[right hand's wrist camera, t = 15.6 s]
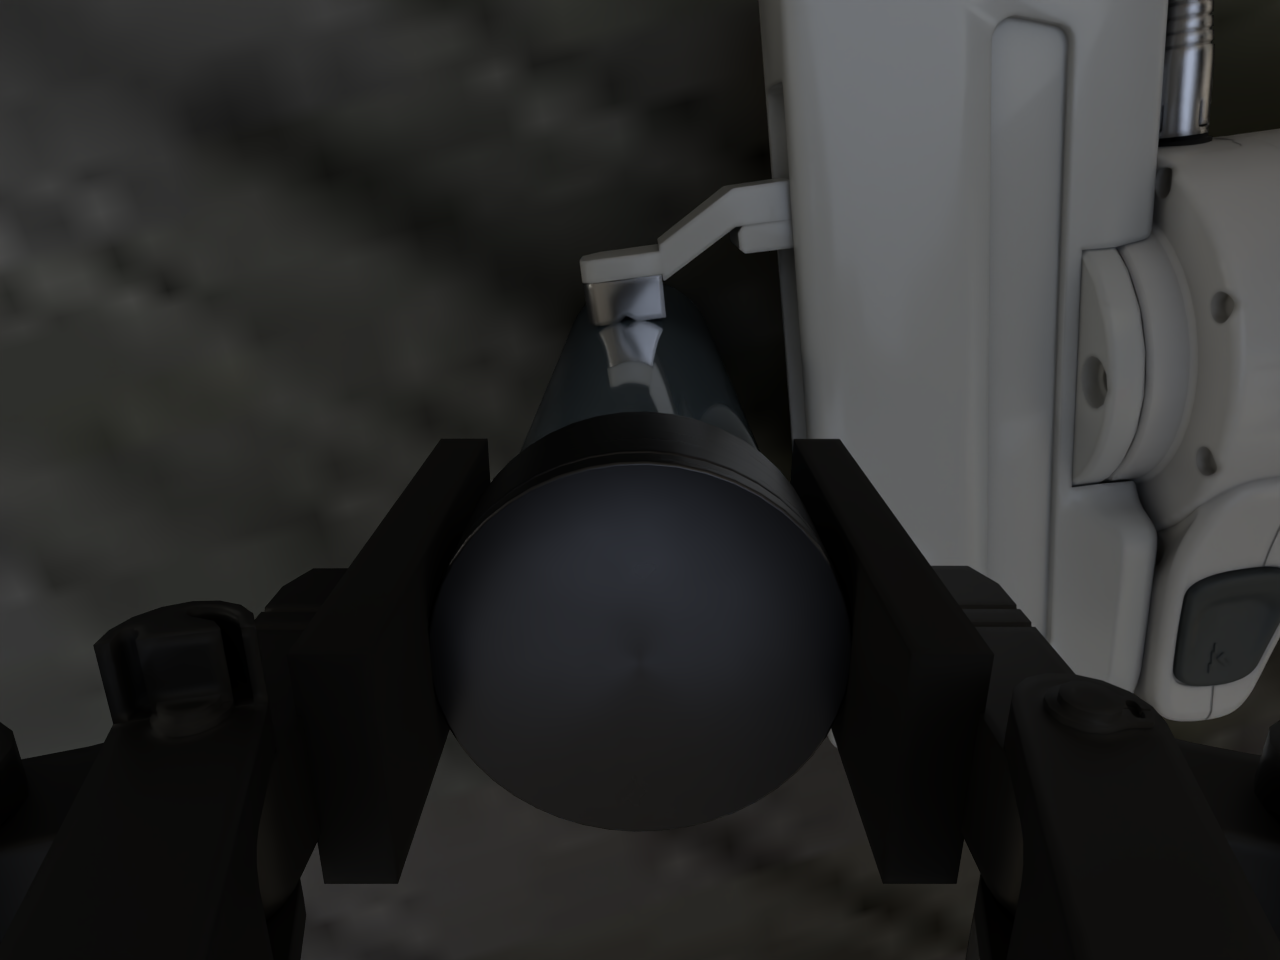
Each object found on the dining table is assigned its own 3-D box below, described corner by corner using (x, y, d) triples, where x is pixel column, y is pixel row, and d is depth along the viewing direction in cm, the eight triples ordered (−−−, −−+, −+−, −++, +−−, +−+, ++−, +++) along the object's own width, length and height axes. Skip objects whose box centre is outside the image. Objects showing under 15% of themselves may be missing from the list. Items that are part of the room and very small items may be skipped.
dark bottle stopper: (399, 485, 12) (350, 550, 10) (755, 354, 11) (779, 395, 9) (544, 772, 13) (528, 876, 11) (862, 673, 13) (901, 765, 11)
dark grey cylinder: (657, 249, 26) (686, 391, 10) (740, 370, 27) (886, 672, 11) (538, 336, 26) (384, 598, 11) (624, 449, 28) (602, 834, 12)
